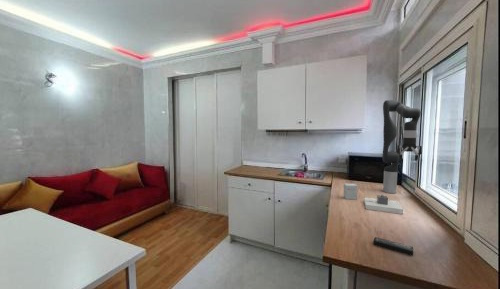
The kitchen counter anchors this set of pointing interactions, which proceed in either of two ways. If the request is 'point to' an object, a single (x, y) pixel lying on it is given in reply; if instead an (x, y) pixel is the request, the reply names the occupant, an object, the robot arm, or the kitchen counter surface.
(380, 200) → the plug
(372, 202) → the socket plate
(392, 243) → the multiport hub
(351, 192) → the small box
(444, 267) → the kitchen counter surface
